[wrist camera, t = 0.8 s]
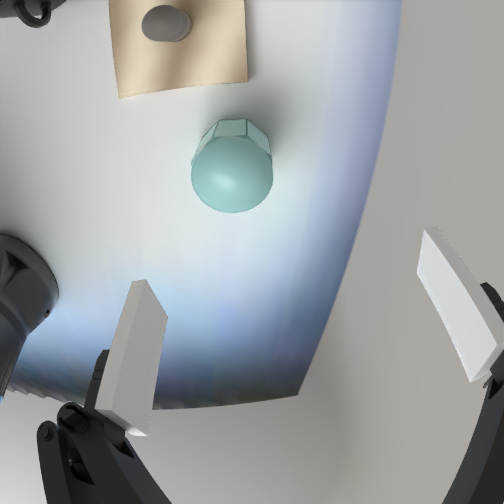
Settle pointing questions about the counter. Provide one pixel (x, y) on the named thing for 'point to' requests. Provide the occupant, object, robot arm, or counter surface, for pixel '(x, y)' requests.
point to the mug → (29, 10)
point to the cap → (232, 166)
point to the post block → (177, 44)
